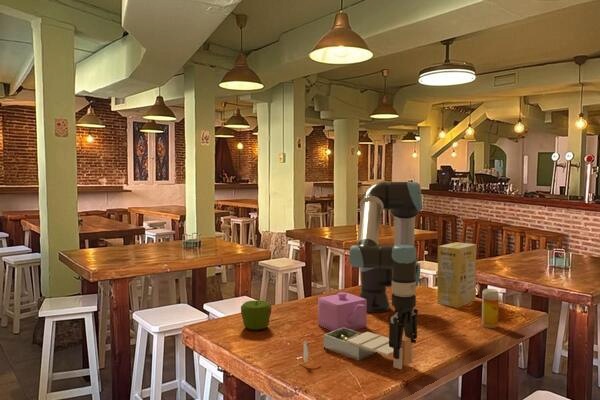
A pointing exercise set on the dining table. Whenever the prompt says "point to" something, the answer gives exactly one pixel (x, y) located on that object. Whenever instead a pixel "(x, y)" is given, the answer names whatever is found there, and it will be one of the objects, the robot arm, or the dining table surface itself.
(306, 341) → the stand
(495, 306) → the beer can
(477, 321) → the dining table surface
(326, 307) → the purple knobbed cube
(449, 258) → the pasta box
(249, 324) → the apple
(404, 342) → the lid
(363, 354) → the grey rectangular box
